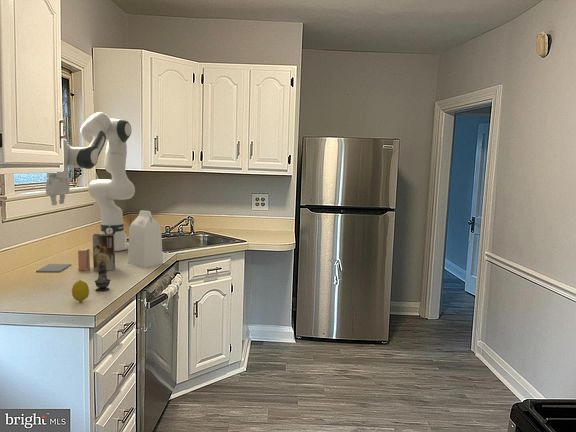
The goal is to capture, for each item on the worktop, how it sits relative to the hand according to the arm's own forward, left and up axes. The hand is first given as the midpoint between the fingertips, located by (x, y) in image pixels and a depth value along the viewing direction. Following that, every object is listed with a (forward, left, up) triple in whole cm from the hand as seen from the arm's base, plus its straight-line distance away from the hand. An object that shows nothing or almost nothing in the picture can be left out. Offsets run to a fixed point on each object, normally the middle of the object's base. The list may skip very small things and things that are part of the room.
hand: (58, 204), depth 210 cm
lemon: (+55, +27, -29) cm, 68 cm away
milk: (-8, +37, -29) cm, 48 cm away
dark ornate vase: (+39, +30, -29) cm, 57 cm away
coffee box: (+4, +21, -29) cm, 36 cm away
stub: (+4, +12, -29) cm, 32 cm away
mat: (+4, -1, -29) cm, 29 cm away
